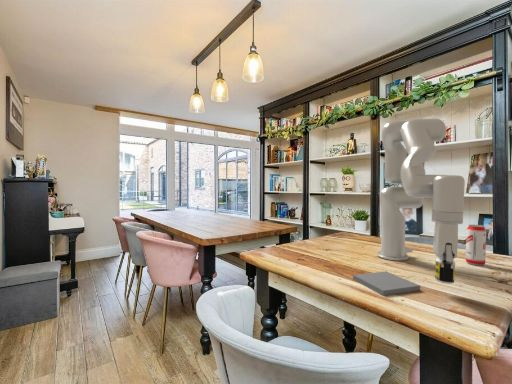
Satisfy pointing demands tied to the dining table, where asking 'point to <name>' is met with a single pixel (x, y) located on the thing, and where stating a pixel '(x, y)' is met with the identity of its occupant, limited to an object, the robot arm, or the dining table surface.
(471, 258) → the beer can
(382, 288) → the slate board
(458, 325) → the dining table surface
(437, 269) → the supplement bottle
